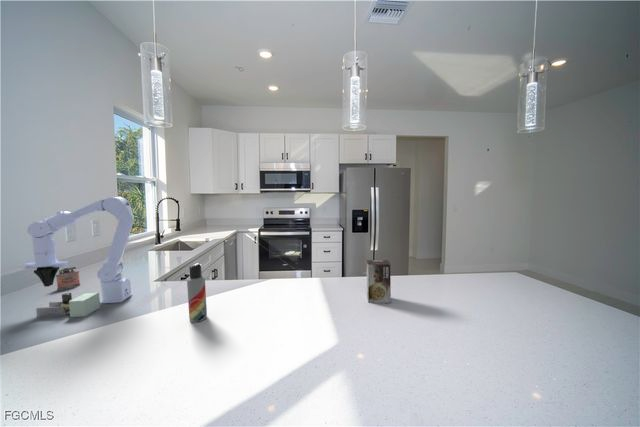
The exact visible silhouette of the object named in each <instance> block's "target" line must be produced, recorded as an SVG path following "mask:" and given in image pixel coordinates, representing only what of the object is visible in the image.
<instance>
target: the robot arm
mask: <svg viewBox="0 0 640 427" xmlns="http://www.w3.org/2000/svg"><path fill="white" fill-rule="evenodd" d="M103 211H106V212H107V213H109V214H111V215H113V216H114V217H115V219H116V220H117V221H118V222H117V225H116V229H115V232H114V234H113V237H112V242H111V244H110V248H109V251H108V254H107V257H106V259H105V261H104V262H103V263H102V266H101V267H100V268H99V270H98V271H97V272H96V275H97V276H96V277H97V278H98V279H99V281H100V282H99V283H100V290H101V292H100V293H101V299H100V304H113V303H115V304H116V303H122V302H123V301H125V300H127V299H129V297H132V296H133V293H132V288H131V287H132V286H131V281H130V279H129V278H125V277H123V275H122V274H121V273H122V272H123V270H124V266H123V262H124V258H123V257H124V253H125V251H126V247H127V243H128V241H129V238H130V234H131V232H132V228H133V225H134V222H135V216H134V213H133V210H132V206H131V203H130V202H129V201H128V200H127V199H126V198H125V197H123V196H109V197H106V198H103V199H99V200H96V201H93V202H91V203H89V204H87V205H83V206H82V207H80V208H78V209H75V210H73V211H67V210H64V211H62V210H60V211H57V212H56V214H54V215H52V216H48V217H44V218H42V220H41V221H33V222H32V223H30V224H29V225H28V227H27V233H28V234H29V235H30V236H31V239H32V240H31V241H32V248H33V255H34V256H33V257H34V262H27V263H23V264H22V266H23V270H27V269H35V270H33V273H34V274H35V275H36V276H37V277H38V279H40V281H41V283H42V284H43V286H44V287H50V286H53V285H54V281H55V277H56V274H58V273H57V272H59V269H60V268H61V269H64V268H65V267H67V268H69V266H70V263H69V261H67V260H66V261H63V260H58V259H57V250H56V245H55V244H56V243H55V235H54V234H55V233H56V232H57V231H60V230H63V229H65V228H68V227H71V226H72V225H75V223H76V222H77V220H78V219H81V218H82V217H85V216H89V215H90V214H93V213H96V212H103Z"/></svg>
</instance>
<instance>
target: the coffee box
mask: <svg viewBox="0 0 640 427" xmlns="http://www.w3.org/2000/svg"><path fill="white" fill-rule="evenodd" d="M391 269H392V268H391V263H390V261H389V260H388V259H366V298H367V299H366V300H367V302H368V303H372V304H373V303H374V304H379V303H380V304H391V303H392V302H391V301H392V300H391V298H392V297H391V296H392V294H391V292H392V291H391V289H392V288H391V287H392V286H391V282H392V281H391V280H392V279H391Z"/></svg>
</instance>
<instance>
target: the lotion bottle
mask: <svg viewBox="0 0 640 427" xmlns="http://www.w3.org/2000/svg"><path fill="white" fill-rule="evenodd" d="M188 269H189V277H187V280H186V282H187V283H186V288H187V299H188V300H187V301H188V302H187V303H188V318H189V321H190V322H191V321H192V322H191V323H199V322H198V321H200V322H203V321H204V319H205V318H206V319H207V317H208V311H207V310H208V309H207V308H208V307H207V295H206V294H207V292H206V289H207V288H206V277H205V276H204V275H203V273H202V272H203V271H202V264H200V263H195V264H192V265H190V266H189V268H188ZM206 319H205V320H206ZM202 320H203V321H202Z"/></svg>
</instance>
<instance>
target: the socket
mask: <svg viewBox="0 0 640 427" xmlns="http://www.w3.org/2000/svg"><path fill="white" fill-rule="evenodd" d="M100 300H101V299H100V292H87V293H86V292H85V293H84V294H83V293H82V295H79V296H77V297H75V298H72V300H71V301H69V308H70V313H69V315H70V316H69V317H70V318H77V317H87V316H88V315H90V314H91V313H93V312H95V311H96V310H98V309H100V308H101V303H100Z"/></svg>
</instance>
